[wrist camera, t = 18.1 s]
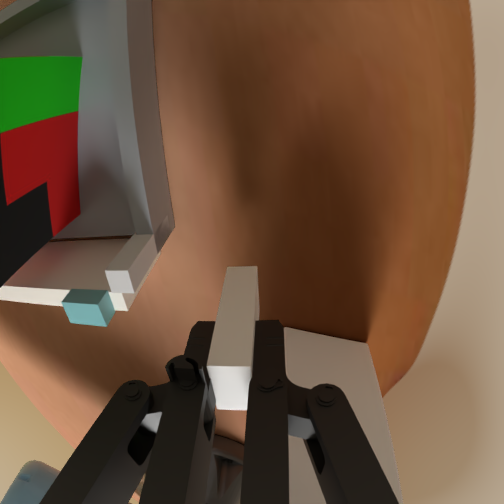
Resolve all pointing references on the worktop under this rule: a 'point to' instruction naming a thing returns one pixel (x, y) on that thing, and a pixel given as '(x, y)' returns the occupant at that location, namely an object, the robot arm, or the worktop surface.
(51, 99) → the puzzle toy
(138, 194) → the grey tray
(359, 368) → the milk carton
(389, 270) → the worktop surface
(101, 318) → the cover panel
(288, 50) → the worktop surface
